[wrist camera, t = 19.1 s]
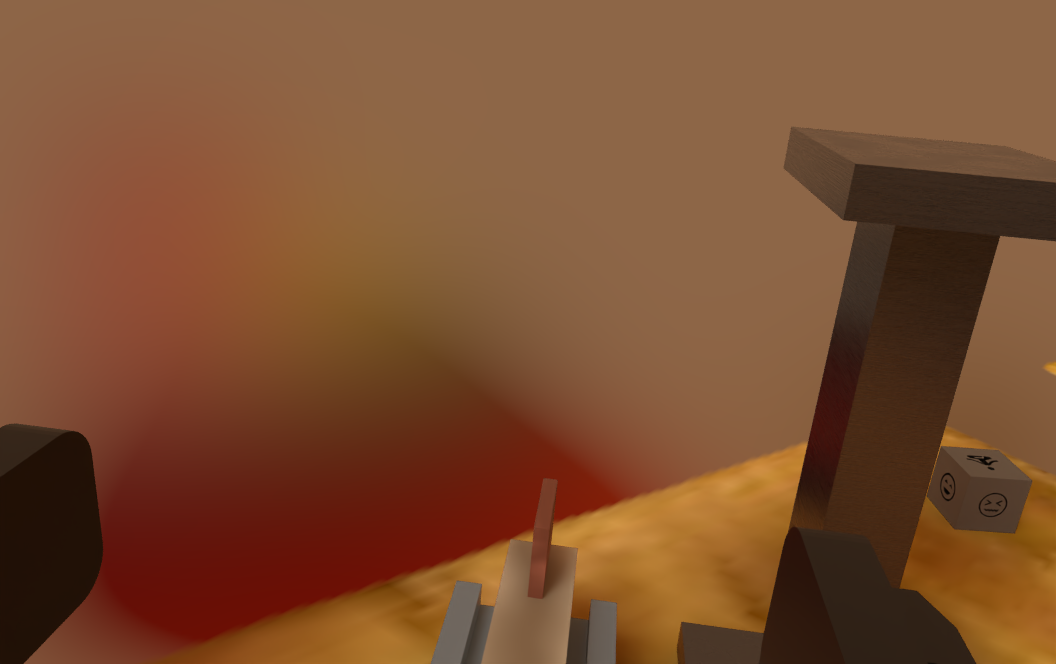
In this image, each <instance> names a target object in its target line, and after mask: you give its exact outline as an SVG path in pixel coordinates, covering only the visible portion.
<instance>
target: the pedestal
mask: <svg viewBox="0 0 1056 664" xmlns="http://www.w3.org/2000/svg"><path fill="white" fill-rule="evenodd" d="M784 169H785V170H786V171H787V172H789V173H790V174H791V175H792V176H793V177H794V178H795V179H797V180H798V181H799V182H800V183H801V184H802V185H803V186H805V187H806V188H807V189H808V190H809V191H810V192H811V193H813V194H814V195H815V196H816V197H817V198H818V199H819V200H821V201H822V202H823V203H824V204H825V205H826V206H828V207H829V208H830V209H831V210H832V211H833V212H834V213H836V214H837V215H838V216H839V217H840V218H841V219H843V220H847V221H857V226H856V230H855V234H854V239H853V243H852V248H851V252H850V257H849V261H848V266H847V270H846V274H845V279H844V284H843V288H842V292H841V297H840V302H839V306H838V310H837V315H836V319H835V324H834V329H833V333H832V337H831V342H830V346H829V351H828V355H827V360H826V365H825V369H824V373H823V378H822V382H821V387H820V392H819V396H818V400H817V405H816V409H815V414H814V418H813V423H812V428H811V432H810V436H809V441H808V445H807V449H806V454H805V458H804V463H803V467H802V472H801V476H800V481H799V485H798V490H797V494H796V499H795V503H794V508H793V512H792V517H791V521H790V526H789V530H790V529H791V528H792V527H802V528H810V529H818V530H825V531H833V532H841V533H849V534H856V535H863V536H865V537H867V538H868V540H869V541H870V543H871V545H872V547H873V549H874V551H875V553H876V555H877V557H878V559H879V562H880V564H881V566H882V568H883V570H884V572H885V574H886V576H887V578H888V581H889V583H890V585H891V587H892V588H899V587H900V583H901V580H902V576H903V573H904V569H905V566H906V562H907V559H908V555H909V552H910V548H911V545H912V541H913V538H914V534H915V531H916V527H917V524H918V521H919V517H920V514H921V510H922V507H923V503H924V500H925V496H926V493H927V489H928V486H929V482H930V479H931V475H932V472H933V468H934V465H935V461H936V458H937V454H938V451H939V447H940V444H941V440H942V437H943V433H944V430H945V426H946V423H947V419H948V416H949V412H950V409H951V405H952V402H953V399H954V395H955V391H956V388H957V384H958V381H959V377H960V374H961V370H962V367H963V363H964V360H965V357H966V353H967V350H968V346H969V343H970V339H971V335H972V332H973V329H974V325H975V322H976V318H977V315H978V311H979V307H980V304H981V301H982V297H983V294H984V291H985V286H986V283H987V280H988V276H989V273H990V270H991V266H992V263H993V259H994V255H995V252H996V249H997V245H998V242H999V238H1000V236H1008V237H1018V238H1028V239H1038V240H1048V241H1056V161H1053V160H1049V159H1046V158H1043V157H1039V156H1036V155H1033V154H1030V153H1026V152H1023V151H1020V150H1016V149H1013V148H1009V147H1006V146H997V145H985V144H974V143H963V142H953V141H941V140H931V139H920V138H908V137H897V136H887V135H876V134H864V133H853V132H842V131H832V130H821V129H820V130H819V129H809V128H799V127H791V132H790V137H789V142H788V147H787V153H786V159H785V164H784ZM789 530H788V532H789ZM763 635H764V633H757V632H750V631H743V630H736V629H728V628H721V627H714V626H707V625H700V624H693V623H686V622H681V627H680V633H679V639H678V644H677V656H678V664H760V654H761V646H762V640H763Z"/></svg>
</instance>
